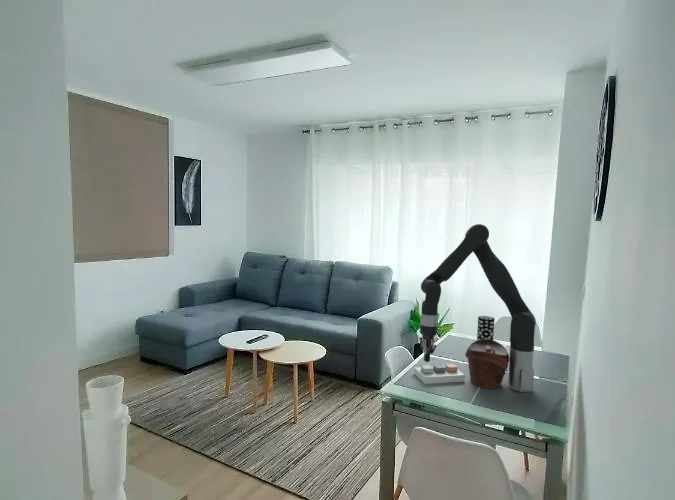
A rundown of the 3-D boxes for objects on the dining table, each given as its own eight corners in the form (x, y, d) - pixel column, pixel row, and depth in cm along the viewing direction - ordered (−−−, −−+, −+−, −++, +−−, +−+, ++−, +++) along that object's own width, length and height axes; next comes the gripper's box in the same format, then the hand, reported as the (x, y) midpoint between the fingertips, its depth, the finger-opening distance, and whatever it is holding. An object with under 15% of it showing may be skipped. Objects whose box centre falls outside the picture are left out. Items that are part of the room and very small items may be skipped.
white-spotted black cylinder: (476, 355, 211) (478, 318, 210) (475, 350, 219) (477, 315, 218) (493, 357, 209) (495, 320, 207) (491, 352, 217) (493, 316, 215)
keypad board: (464, 381, 175) (464, 374, 175) (425, 384, 171) (425, 377, 171) (451, 371, 187) (451, 365, 186) (413, 373, 182) (414, 367, 182)
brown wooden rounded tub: (482, 394, 161) (485, 351, 160) (455, 376, 181) (457, 338, 180) (518, 391, 166) (521, 350, 165) (488, 374, 185) (491, 336, 184)
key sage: (432, 372, 176) (433, 368, 176) (424, 373, 175) (424, 368, 175) (428, 369, 180) (429, 365, 179) (420, 369, 179) (421, 365, 179)
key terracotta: (457, 371, 178) (457, 367, 178) (449, 371, 177) (449, 367, 177) (452, 368, 182) (452, 363, 182) (444, 368, 181) (445, 364, 181)
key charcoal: (445, 372, 177) (445, 367, 177) (436, 372, 176) (437, 368, 176) (440, 368, 181) (441, 364, 181) (432, 369, 180) (433, 365, 180)
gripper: (443, 327, 170) (441, 366, 172) (430, 319, 183) (428, 355, 185) (427, 327, 169) (425, 367, 170) (415, 320, 182) (413, 356, 183)
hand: (426, 361), depth 177 cm, fingers closed
